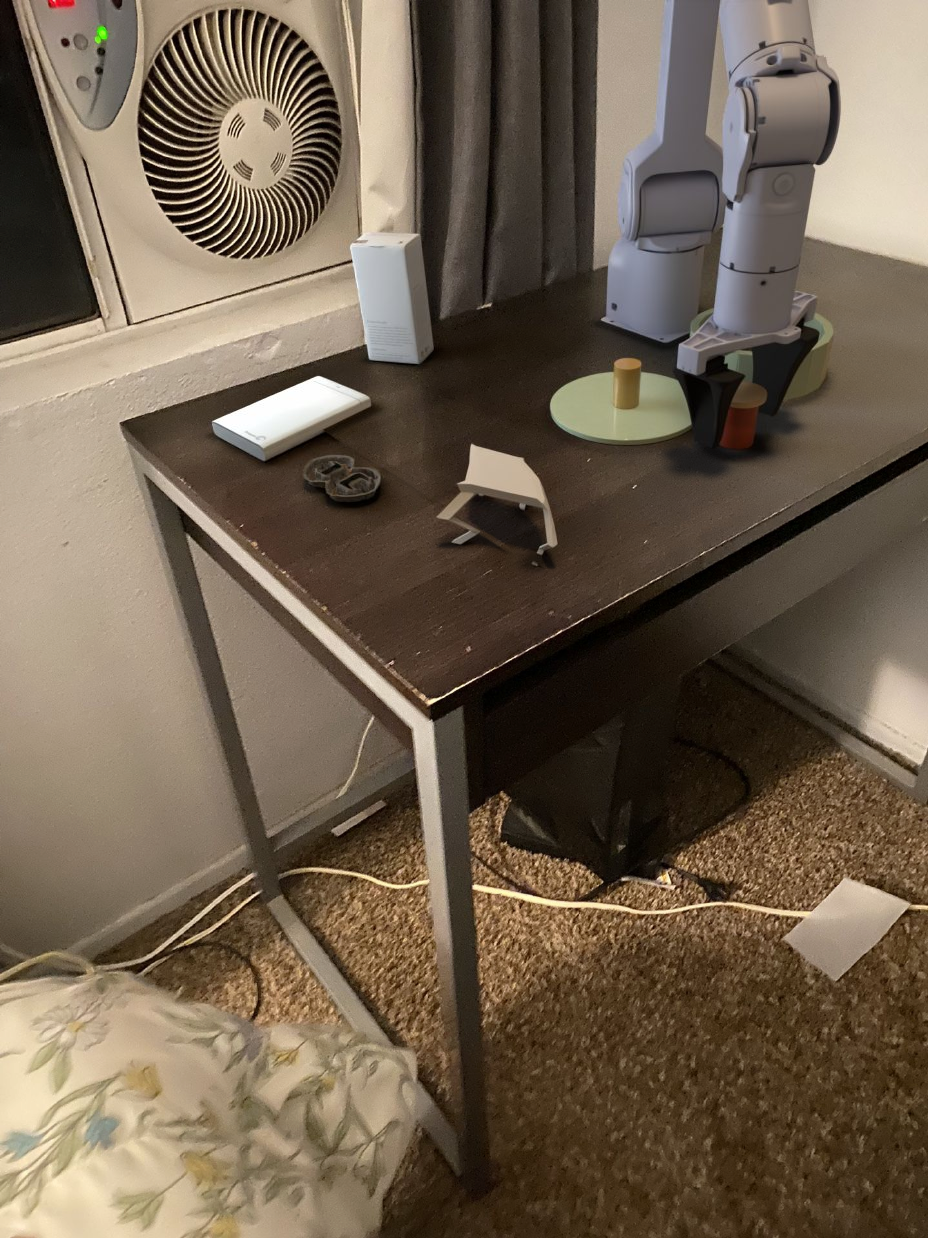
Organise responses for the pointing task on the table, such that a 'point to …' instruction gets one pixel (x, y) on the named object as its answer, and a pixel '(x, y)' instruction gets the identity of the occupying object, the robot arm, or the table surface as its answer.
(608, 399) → the lid
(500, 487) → the beige angled stand
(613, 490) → the table surface
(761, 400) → the spool
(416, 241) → the cosmetic box
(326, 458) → the corroded twin loop
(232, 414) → the hard drive
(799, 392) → the tin
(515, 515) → the table surface
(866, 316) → the table surface
